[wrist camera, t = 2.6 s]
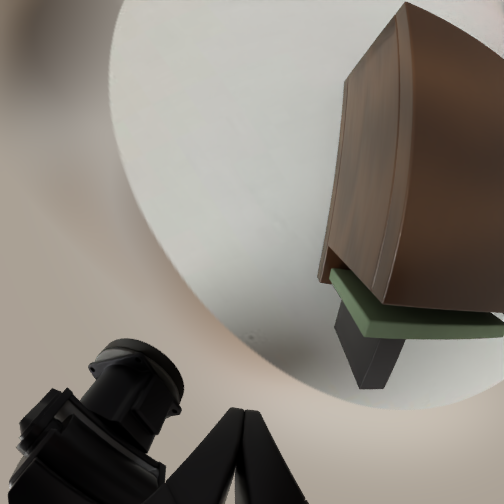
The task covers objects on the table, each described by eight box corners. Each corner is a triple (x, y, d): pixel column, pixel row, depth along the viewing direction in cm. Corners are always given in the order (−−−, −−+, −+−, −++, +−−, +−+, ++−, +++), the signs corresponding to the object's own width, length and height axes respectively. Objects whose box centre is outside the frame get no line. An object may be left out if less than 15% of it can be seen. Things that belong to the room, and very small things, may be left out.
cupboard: (501, 299, 16) (566, 344, 7) (316, 277, 16) (359, 368, 7) (524, 162, 13) (598, 167, 4) (343, 81, 13) (405, 0, 5)
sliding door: (432, 328, 15) (481, 380, 9) (318, 320, 15) (341, 392, 9) (447, 283, 14) (508, 325, 8) (331, 267, 15) (368, 320, 8)
